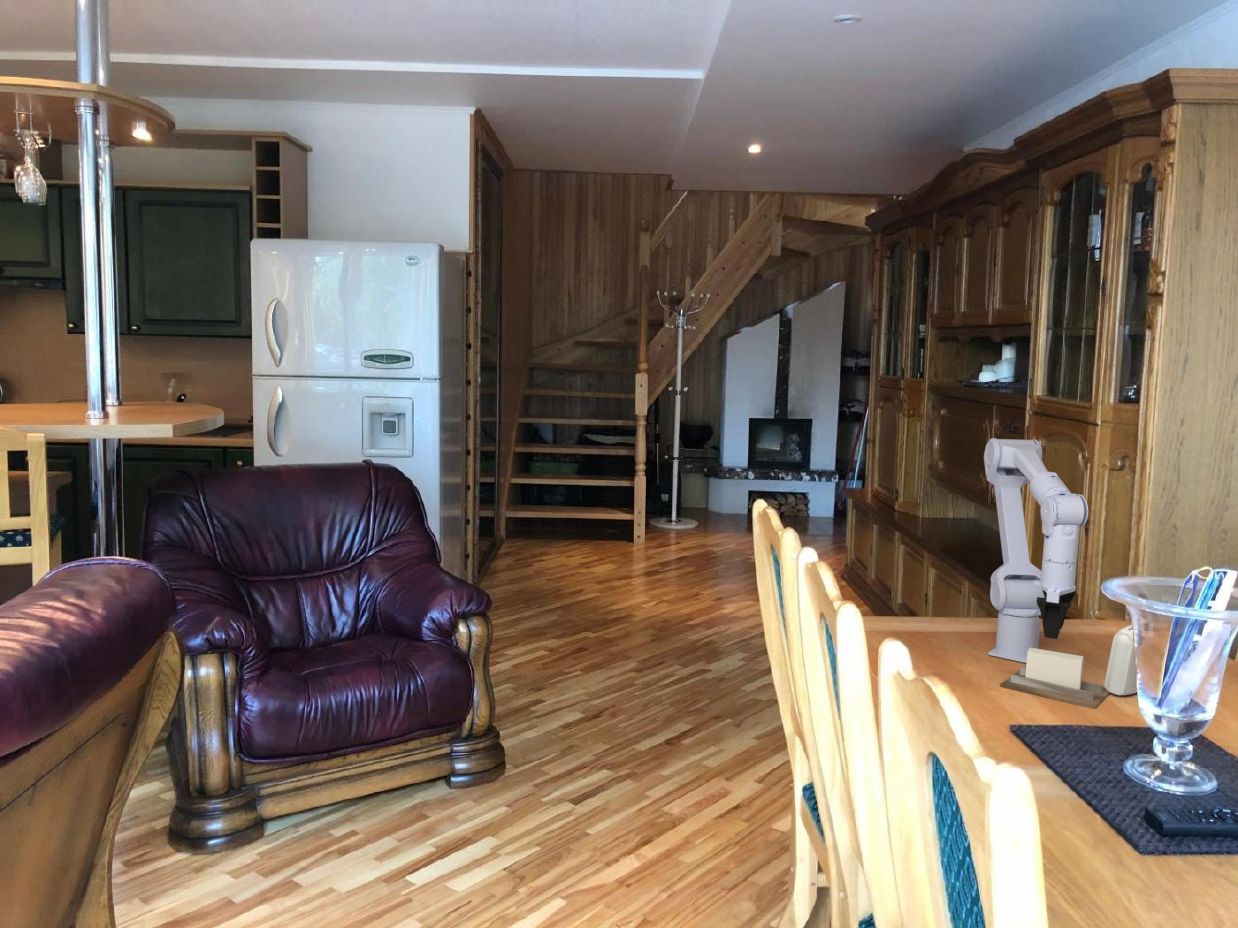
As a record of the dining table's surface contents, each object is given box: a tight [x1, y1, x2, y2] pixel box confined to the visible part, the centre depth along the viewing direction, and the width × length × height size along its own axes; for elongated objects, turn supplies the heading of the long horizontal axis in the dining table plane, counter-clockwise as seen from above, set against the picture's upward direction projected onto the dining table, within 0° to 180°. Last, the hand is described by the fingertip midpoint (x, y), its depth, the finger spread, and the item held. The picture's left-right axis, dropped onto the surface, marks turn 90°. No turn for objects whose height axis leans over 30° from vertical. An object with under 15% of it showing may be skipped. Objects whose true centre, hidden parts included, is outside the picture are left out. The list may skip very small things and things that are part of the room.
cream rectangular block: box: [1025, 648, 1084, 690], centre depth 177 cm, size 3×9×6 cm, turn 59°
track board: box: [999, 667, 1111, 710], centre depth 177 cm, size 12×16×2 cm
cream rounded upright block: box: [1103, 624, 1136, 696], centre depth 176 cm, size 10×4×12 cm, turn 123°
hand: (1053, 632), depth 179 cm, fingers open, 7 cm apart
